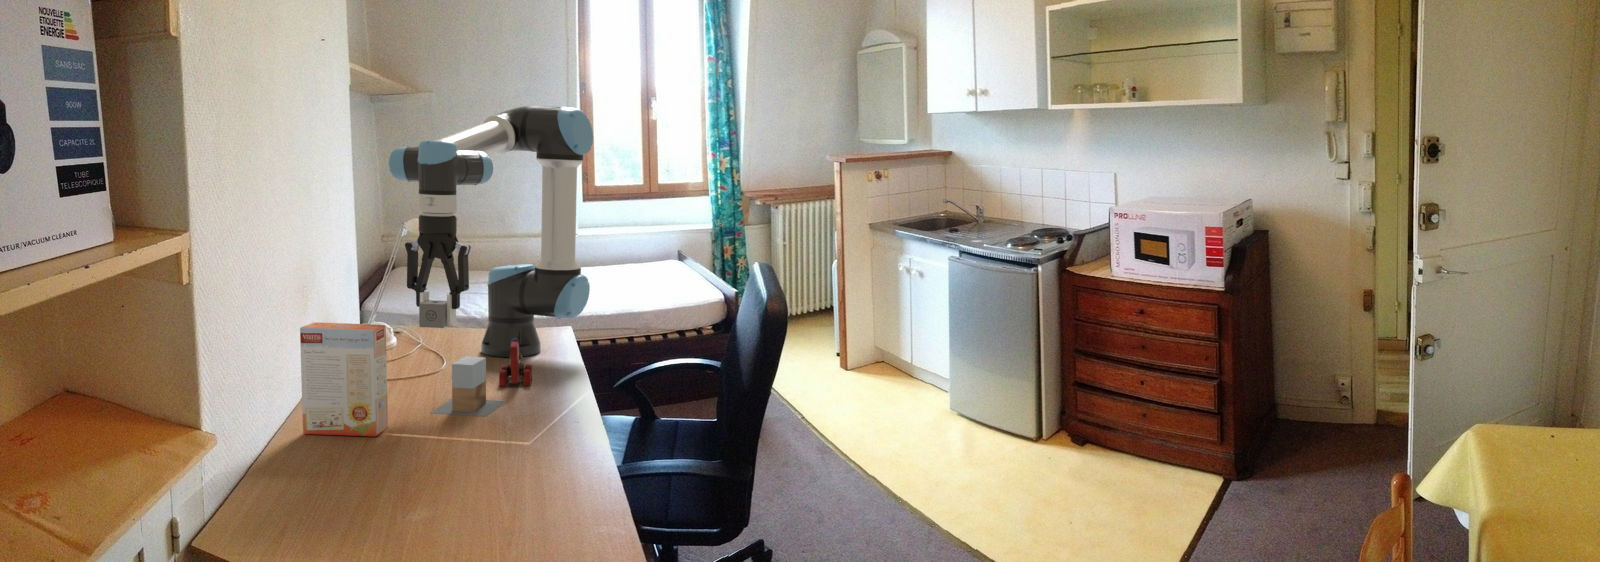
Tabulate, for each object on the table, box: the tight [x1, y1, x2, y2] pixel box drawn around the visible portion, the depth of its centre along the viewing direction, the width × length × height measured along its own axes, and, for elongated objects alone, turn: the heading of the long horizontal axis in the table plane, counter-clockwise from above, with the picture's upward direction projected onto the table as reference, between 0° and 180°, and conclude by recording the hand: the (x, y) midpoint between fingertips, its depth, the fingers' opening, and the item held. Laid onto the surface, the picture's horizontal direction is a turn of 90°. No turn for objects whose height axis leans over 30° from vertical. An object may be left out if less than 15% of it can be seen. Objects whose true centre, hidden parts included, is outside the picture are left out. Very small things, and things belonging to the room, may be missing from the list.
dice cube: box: [418, 299, 449, 329], centre depth 208 cm, size 5×5×5 cm
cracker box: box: [299, 322, 389, 438], centre depth 187 cm, size 14×6×21 cm, turn 90°
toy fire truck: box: [498, 338, 533, 388], centre depth 228 cm, size 7×12×10 cm, turn 13°
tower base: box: [451, 380, 487, 412], centre depth 207 cm, size 7×4×5 cm, turn 176°
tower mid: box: [451, 356, 487, 389], centre depth 206 cm, size 7×4×5 cm, turn 176°
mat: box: [429, 398, 508, 418], centre depth 207 cm, size 12×12×1 cm
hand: (438, 322), depth 209 cm, fingers closed on dice cube, 5 cm apart
